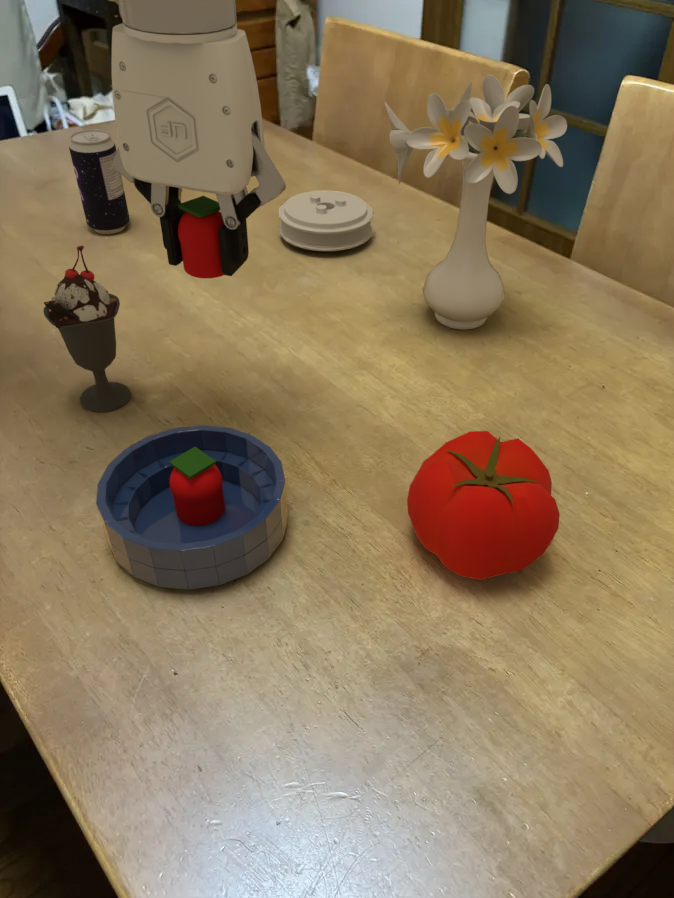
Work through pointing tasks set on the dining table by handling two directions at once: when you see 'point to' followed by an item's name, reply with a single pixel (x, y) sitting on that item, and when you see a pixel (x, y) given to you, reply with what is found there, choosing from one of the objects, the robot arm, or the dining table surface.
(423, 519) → the tomato
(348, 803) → the dining table surface
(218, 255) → the strawberry
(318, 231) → the lid
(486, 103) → the flower vase
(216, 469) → the strawberry
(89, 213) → the beverage can
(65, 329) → the sundae
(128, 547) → the bowl
